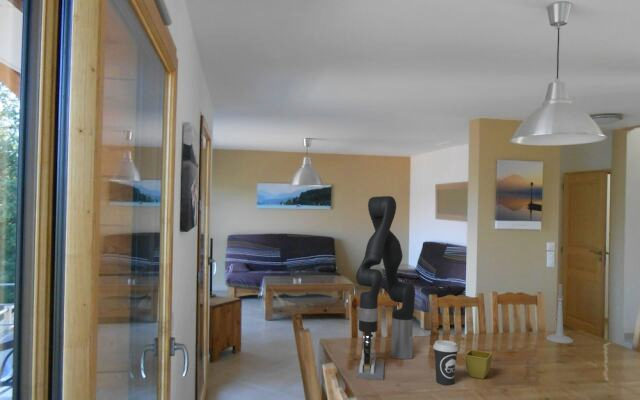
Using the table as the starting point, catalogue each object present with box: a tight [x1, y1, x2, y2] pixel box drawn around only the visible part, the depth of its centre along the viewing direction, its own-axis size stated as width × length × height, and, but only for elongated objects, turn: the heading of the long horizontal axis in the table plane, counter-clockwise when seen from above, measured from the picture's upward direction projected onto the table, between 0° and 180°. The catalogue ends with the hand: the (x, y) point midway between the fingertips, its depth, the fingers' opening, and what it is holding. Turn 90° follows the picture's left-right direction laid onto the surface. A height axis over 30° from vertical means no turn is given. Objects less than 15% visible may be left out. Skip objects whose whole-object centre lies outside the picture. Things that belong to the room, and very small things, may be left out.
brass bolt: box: [363, 348, 372, 371], centre depth 194 cm, size 3×8×8 cm, turn 171°
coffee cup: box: [432, 339, 460, 386], centre depth 184 cm, size 10×10×15 cm
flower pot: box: [464, 349, 493, 380], centre depth 192 cm, size 9×9×9 cm
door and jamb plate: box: [356, 348, 385, 380], centre depth 196 cm, size 10×21×6 cm, turn 171°
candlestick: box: [545, 283, 574, 344], centre depth 253 cm, size 13×13×30 cm
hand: (367, 361), depth 191 cm, fingers closed on brass bolt, 3 cm apart
